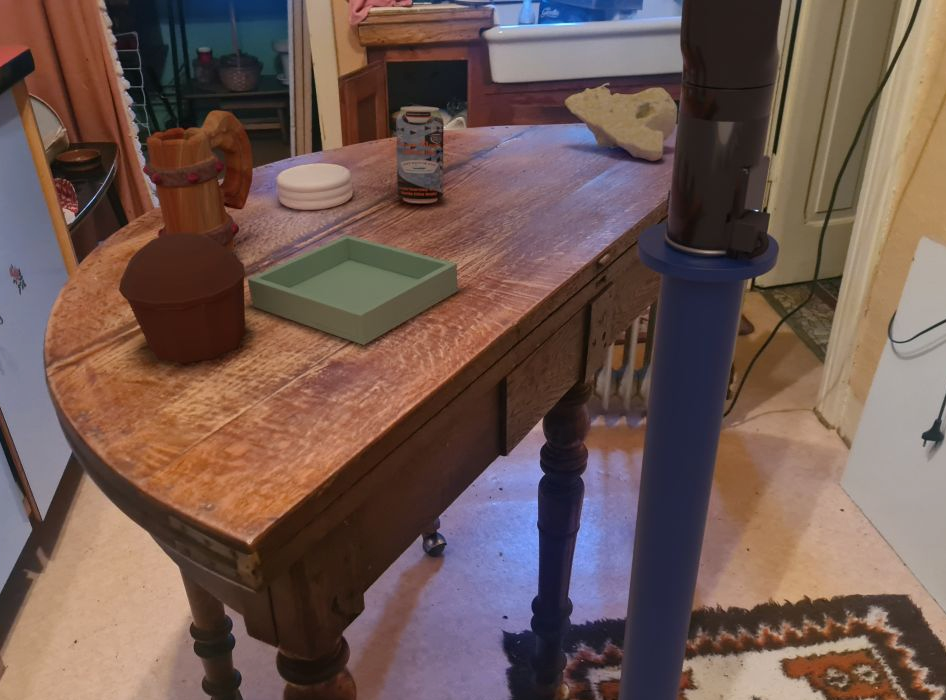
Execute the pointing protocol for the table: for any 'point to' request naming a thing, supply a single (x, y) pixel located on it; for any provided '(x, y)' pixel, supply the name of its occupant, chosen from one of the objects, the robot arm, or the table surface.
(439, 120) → the beverage can
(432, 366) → the table surface
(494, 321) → the table surface
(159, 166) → the mug
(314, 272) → the tray
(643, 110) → the cheese
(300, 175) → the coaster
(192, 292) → the muffin
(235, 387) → the table surface
